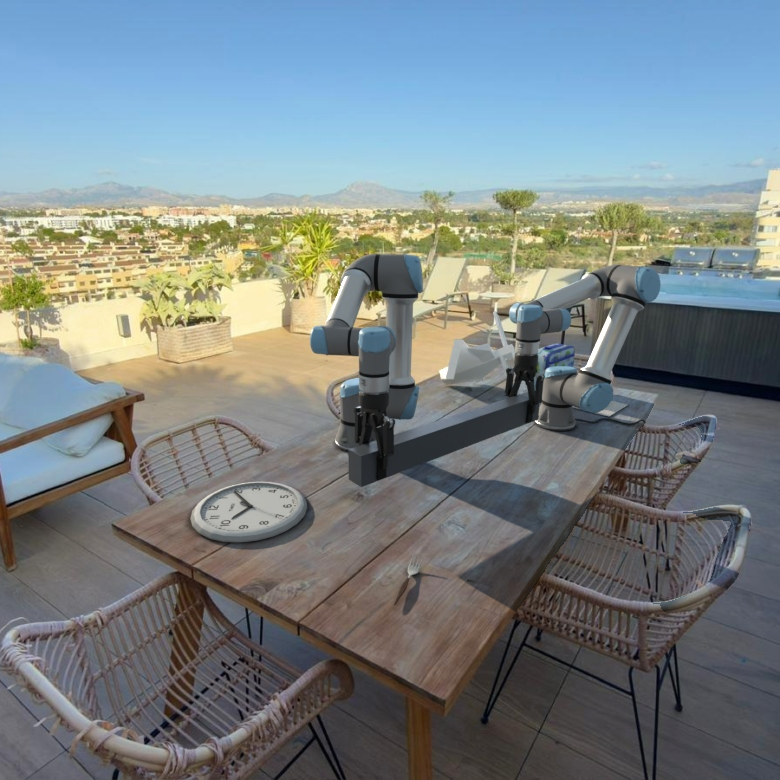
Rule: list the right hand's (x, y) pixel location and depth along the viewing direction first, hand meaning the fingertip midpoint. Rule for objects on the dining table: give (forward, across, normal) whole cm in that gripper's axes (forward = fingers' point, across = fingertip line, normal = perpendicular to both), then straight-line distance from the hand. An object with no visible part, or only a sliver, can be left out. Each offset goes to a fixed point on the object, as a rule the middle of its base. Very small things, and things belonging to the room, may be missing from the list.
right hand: (521, 419), depth 177 cm
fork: (+10, +25, -79) cm, 83 cm away
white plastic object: (+12, -50, +43) cm, 67 cm away
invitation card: (+13, -2, +67) cm, 68 cm away
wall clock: (+9, -24, -89) cm, 93 cm away
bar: (0, -1, -32) cm, 32 cm away
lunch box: (+13, -32, +75) cm, 82 cm away
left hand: (-1, -3, -64) cm, 64 cm away
